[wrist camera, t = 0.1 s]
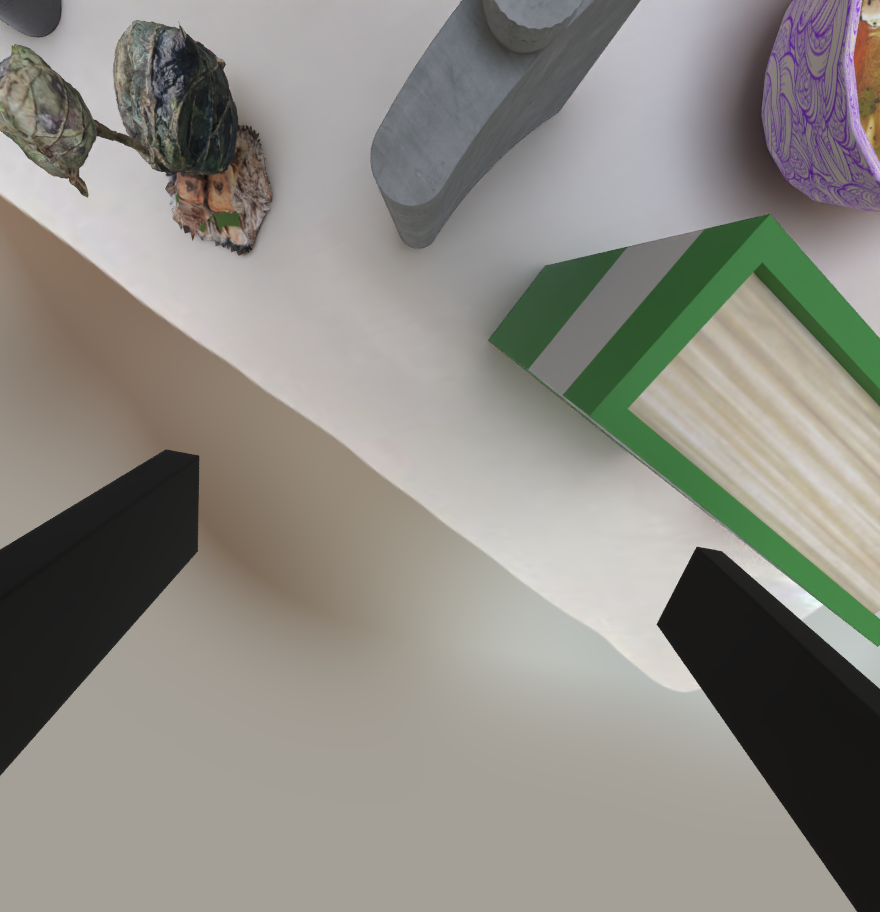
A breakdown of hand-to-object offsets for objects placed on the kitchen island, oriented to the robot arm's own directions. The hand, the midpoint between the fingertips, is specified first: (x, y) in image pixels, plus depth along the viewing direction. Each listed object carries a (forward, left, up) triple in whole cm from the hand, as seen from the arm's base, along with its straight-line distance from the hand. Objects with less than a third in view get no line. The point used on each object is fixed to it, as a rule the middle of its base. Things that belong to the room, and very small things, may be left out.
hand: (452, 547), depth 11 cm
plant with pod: (-11, -18, -28) cm, 35 cm away
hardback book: (-3, +14, -28) cm, 32 cm away
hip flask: (-16, 0, -28) cm, 32 cm away
